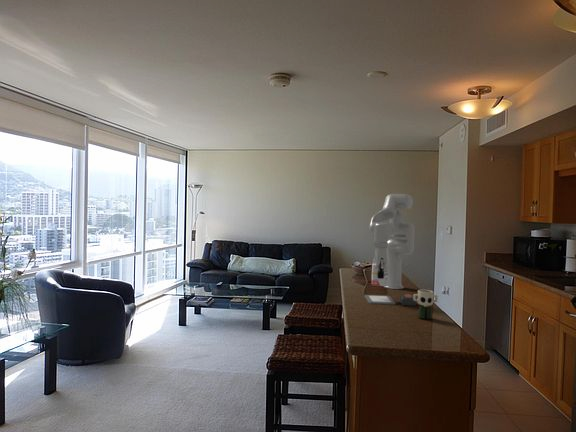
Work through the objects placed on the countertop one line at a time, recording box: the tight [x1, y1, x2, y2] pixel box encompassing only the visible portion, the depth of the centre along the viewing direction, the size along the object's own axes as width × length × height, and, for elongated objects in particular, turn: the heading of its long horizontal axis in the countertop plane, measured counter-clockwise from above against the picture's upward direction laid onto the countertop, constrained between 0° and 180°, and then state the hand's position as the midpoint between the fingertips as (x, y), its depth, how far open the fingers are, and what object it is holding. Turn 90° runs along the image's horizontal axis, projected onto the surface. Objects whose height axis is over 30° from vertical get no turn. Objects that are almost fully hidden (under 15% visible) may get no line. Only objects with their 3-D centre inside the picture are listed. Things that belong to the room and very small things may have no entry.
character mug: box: [413, 289, 438, 320], centre depth 198 cm, size 11×7×13 cm, turn 81°
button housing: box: [399, 295, 417, 307], centre depth 227 cm, size 7×7×4 cm
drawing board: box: [364, 294, 397, 305], centre depth 234 cm, size 18×14×1 cm
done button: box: [403, 293, 412, 298], centre depth 227 cm, size 4×4×2 cm
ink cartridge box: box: [371, 257, 388, 287], centre depth 235 cm, size 9×5×15 cm, turn 85°
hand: (379, 277), depth 235 cm, fingers closed on ink cartridge box, 5 cm apart
